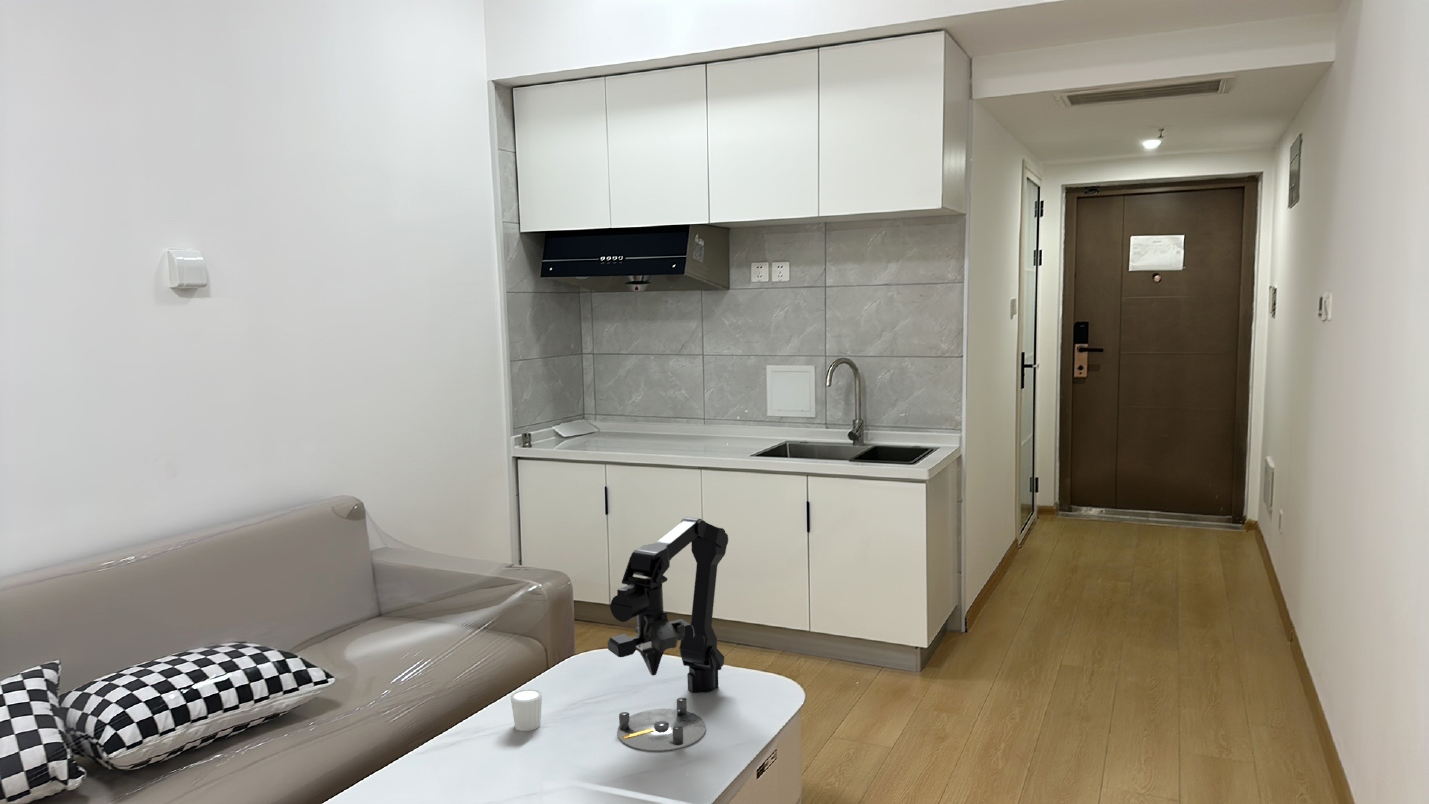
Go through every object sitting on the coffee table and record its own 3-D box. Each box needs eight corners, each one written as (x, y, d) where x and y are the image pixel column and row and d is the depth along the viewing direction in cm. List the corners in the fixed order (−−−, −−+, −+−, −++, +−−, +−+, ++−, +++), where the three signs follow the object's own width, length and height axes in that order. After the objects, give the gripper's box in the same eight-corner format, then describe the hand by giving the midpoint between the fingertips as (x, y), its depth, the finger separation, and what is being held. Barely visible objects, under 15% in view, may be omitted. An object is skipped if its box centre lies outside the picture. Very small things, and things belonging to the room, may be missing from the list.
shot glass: (516, 735, 204) (515, 704, 203) (508, 722, 210) (506, 692, 209) (547, 727, 207) (545, 697, 206) (538, 715, 213) (536, 686, 212)
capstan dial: (681, 703, 216) (680, 688, 215) (721, 737, 199) (721, 720, 199) (604, 723, 207) (603, 707, 206) (639, 760, 190) (638, 742, 190)
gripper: (628, 627, 192) (632, 699, 194) (706, 607, 202) (708, 676, 204) (604, 612, 202) (608, 681, 204) (680, 593, 211) (682, 659, 213)
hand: (653, 674), depth 206 cm, fingers closed
